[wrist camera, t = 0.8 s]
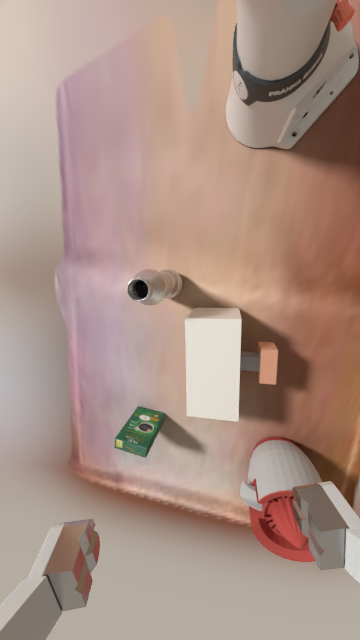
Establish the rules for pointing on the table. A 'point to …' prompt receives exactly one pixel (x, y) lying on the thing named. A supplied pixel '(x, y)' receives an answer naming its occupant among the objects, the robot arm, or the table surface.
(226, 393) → the box
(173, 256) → the table surface
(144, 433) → the coffee box
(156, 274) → the plastic bottle
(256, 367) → the key
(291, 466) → the citrus juicer
